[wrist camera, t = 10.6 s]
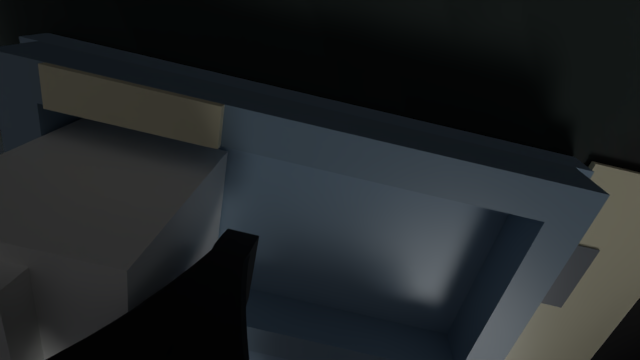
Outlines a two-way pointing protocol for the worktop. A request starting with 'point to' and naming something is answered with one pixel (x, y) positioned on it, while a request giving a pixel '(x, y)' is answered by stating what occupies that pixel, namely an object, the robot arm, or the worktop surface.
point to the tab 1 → (97, 229)
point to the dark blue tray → (367, 212)
